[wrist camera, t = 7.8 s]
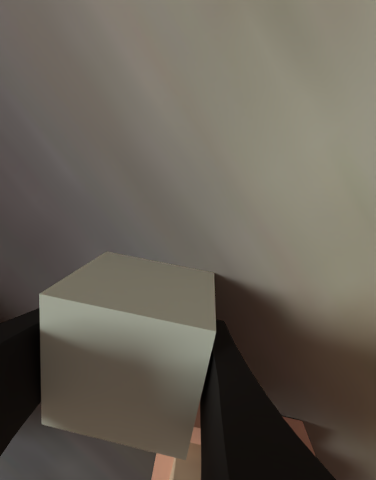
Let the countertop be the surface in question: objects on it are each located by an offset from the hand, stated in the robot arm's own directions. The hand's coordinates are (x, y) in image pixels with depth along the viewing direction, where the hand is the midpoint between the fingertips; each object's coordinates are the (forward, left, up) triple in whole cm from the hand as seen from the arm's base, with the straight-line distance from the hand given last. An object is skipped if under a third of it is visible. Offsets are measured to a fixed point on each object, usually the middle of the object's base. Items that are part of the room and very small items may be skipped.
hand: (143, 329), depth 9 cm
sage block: (0, 0, -2) cm, 2 cm away
